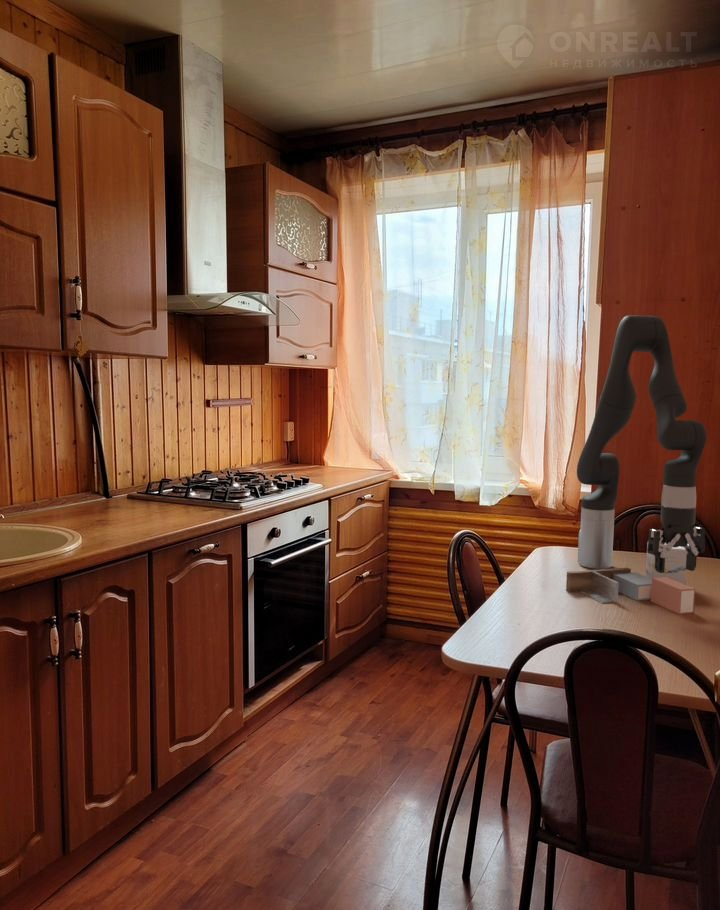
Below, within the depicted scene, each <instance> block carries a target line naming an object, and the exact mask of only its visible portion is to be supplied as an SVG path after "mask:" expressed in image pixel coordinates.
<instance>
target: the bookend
mask: <svg viewBox="0 0 720 910" xmlns="http://www.w3.org/2000/svg"><path fill="white" fill-rule="evenodd" d="M618 586H619V582H617V581H614V580H612V579H610V578H608V577H606V576H604V575H601V574H599V573H597V572H592V588H591V589H586V590H579V593H582V594H583V595H585V596H587V597H589V598H591V599H593V600H595V601H597V602H599V603H601V604H612V603H613V604H614V603H618V602H619V592H618Z"/></svg>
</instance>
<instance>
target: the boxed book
mask: <svg viewBox="0 0 720 910" xmlns="http://www.w3.org/2000/svg"><path fill="white" fill-rule="evenodd" d="M695 589H696V588H695V587H692V586H689V585H687V584H686V585H685V584H682V583H680V582H677V581H675V580H672V579H670V578H667V577H658V578H652V586H651V599H650V602H652V603H654V604H656V605H658V606H661V607H663V608H664V609H668V610H669V611H671V612H672V613H676V614H677V615H683V614H694V612H695V611H694V608H695V607H694V606H695V595H696V594H695V593H696V592H695V591H696V590H695Z"/></svg>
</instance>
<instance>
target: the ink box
mask: <svg viewBox="0 0 720 910" xmlns="http://www.w3.org/2000/svg"><path fill="white" fill-rule="evenodd" d="M646 545H647V547H646V550H647V549H648V542H647V543H646ZM664 545H667V544H666V543H665V544H664ZM687 554H688V553H687V551H686V549H685V548H684V547H681V546H679V547H672V549H671V550H670V551H668V552H667V553H666V555H665V556H664V557H663V558H665V570H664V573H659V572H657V571H656V569H655V556H654V555H652V554H649V553H648V552H647V551H646V557H645V558H646V560H645V561H646V563H645V564H646V565H645V575H644V576H646V577H649V578H651V579H652V578H658V577H667V578H670V579H672V580H675V581H677V582H680V583H682V584H685V585H687V584H686V582H687V569H686V555H687Z"/></svg>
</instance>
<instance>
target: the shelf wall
mask: <svg viewBox="0 0 720 910" xmlns="http://www.w3.org/2000/svg"><path fill="white" fill-rule="evenodd" d="M631 570H632V568H629V567H618V568H617V567H616V568H607V569H589V570H588V569H587V570H572V571H567V572H566V586H565V589H566V590H565V591H566V592H567V593H578V592H579V590H586V589H591V588H592V572H597V573H599V574H601V575H604V576H606V577H608V578H610V579H612V580H613V574H620V573H632V571H631ZM579 593H580V592H579Z"/></svg>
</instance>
